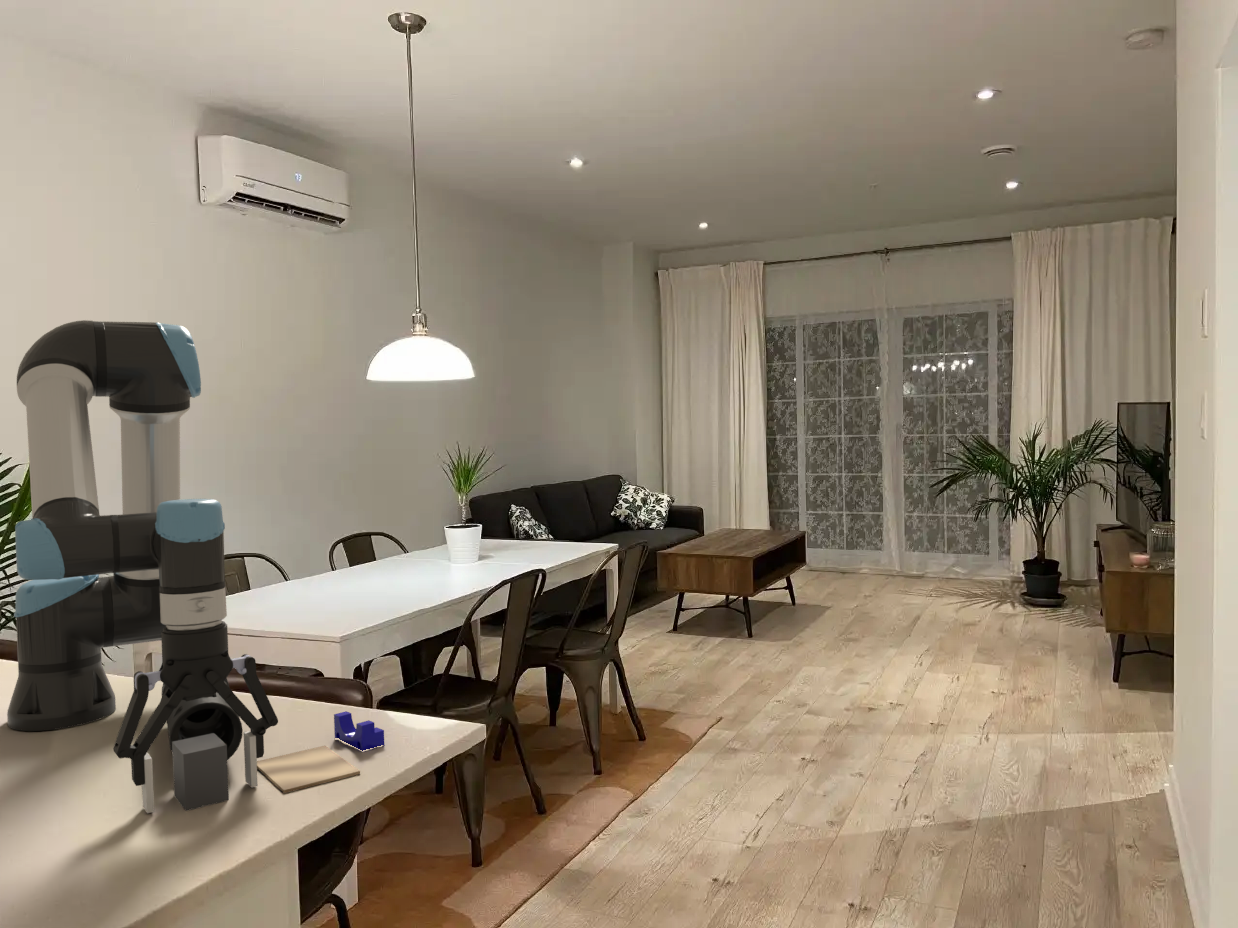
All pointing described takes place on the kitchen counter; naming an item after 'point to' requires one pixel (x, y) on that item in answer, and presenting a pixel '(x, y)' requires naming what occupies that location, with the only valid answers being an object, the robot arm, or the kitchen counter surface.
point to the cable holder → (357, 732)
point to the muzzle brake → (205, 721)
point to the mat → (306, 768)
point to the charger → (200, 771)
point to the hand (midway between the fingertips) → (201, 796)
